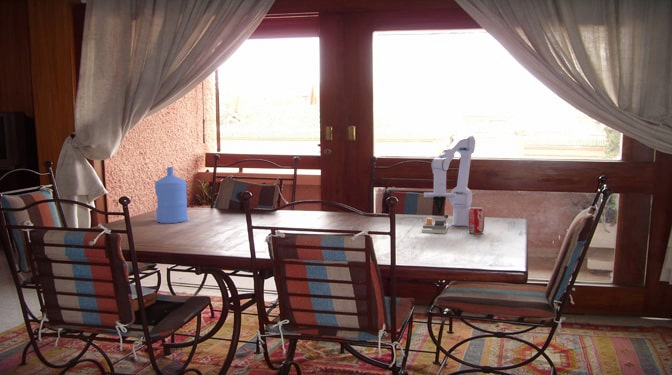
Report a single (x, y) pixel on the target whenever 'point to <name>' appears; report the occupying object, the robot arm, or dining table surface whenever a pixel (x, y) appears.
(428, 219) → the orange flat-faced block
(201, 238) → the dining table surface
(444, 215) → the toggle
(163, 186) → the water jug
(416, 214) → the dining table surface
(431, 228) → the panel
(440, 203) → the robot arm
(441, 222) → the button
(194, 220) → the dining table surface
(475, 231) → the soda can
